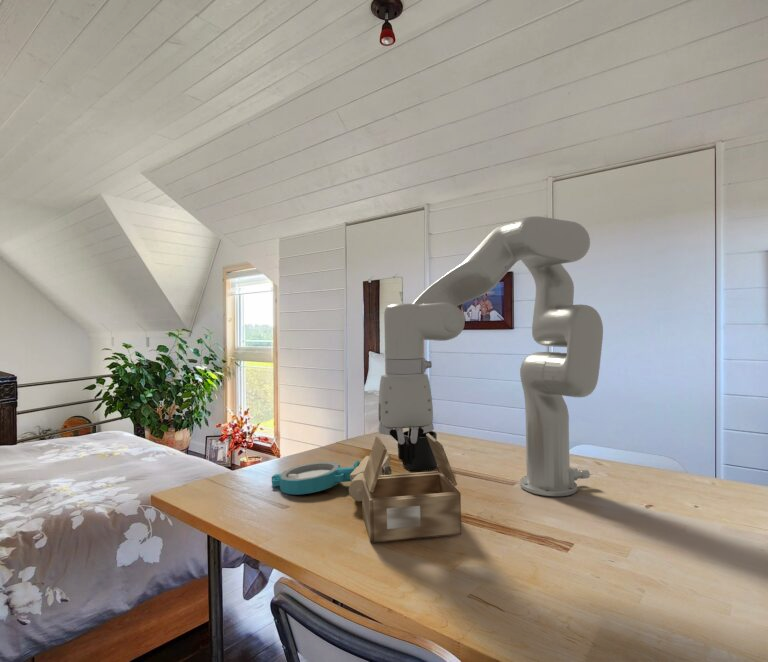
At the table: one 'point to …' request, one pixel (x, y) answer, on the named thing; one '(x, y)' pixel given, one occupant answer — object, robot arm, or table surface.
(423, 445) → the mug
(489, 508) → the table surface
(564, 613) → the table surface
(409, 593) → the table surface
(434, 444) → the flap
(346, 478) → the butterfly valve
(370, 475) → the flap
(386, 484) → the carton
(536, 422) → the robot arm
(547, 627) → the table surface
